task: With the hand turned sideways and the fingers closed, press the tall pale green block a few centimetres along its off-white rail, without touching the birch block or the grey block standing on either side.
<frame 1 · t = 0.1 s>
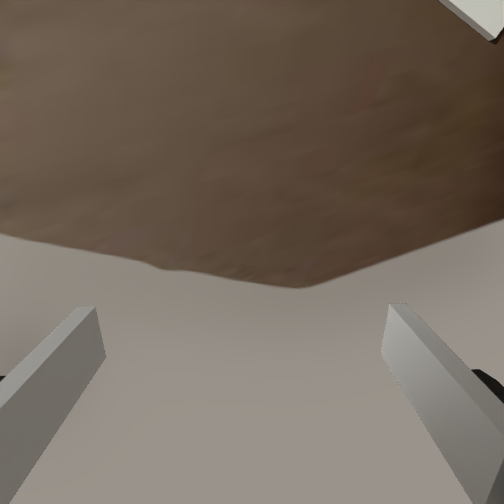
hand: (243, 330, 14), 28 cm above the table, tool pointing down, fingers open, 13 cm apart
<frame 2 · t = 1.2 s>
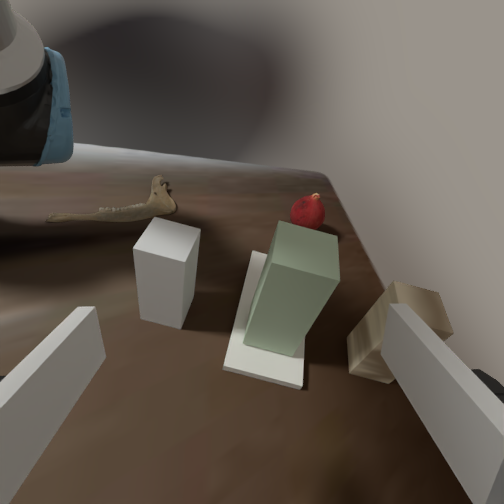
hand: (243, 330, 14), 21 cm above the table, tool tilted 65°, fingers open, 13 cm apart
rail plate: (268, 333, 38), on the table
pale green block: (286, 294, 32), point 8 cm above the table, slide at 0.0 cm
grey block: (168, 307, 38), on the table
birch block: (366, 359, 38), on the table
red pomegranate: (300, 231, 55), on the table
jawbone: (116, 204, 51), on the table
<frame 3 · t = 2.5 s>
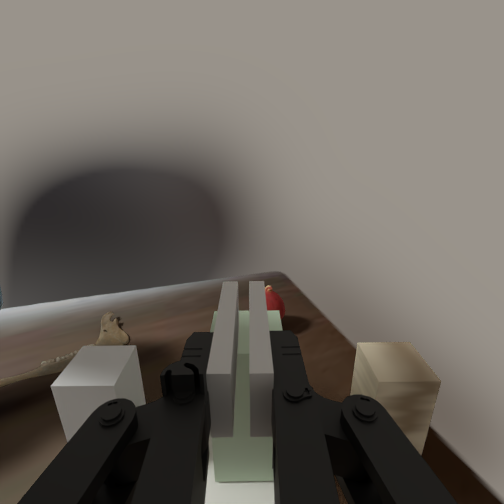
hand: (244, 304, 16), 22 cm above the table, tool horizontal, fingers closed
rail plate: (248, 458, 30), on the table
pale green block: (247, 394, 28), point 8 cm above the table, slide at 0.0 cm
grey block: (119, 460, 30), on the table
birch block: (377, 456, 31), on the table
red pomegranate: (266, 328, 52), on the table
jawbone: (62, 353, 47), on the table
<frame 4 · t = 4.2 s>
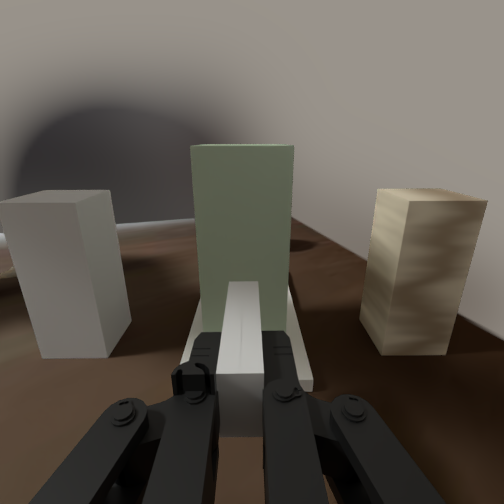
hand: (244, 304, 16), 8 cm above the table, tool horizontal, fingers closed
rail plate: (245, 336, 26), on the table
pale green block: (244, 243, 23), point 8 cm above the table, slide at 0.0 cm
grey block: (91, 338, 25), on the table
birch block: (398, 335, 26), on the table
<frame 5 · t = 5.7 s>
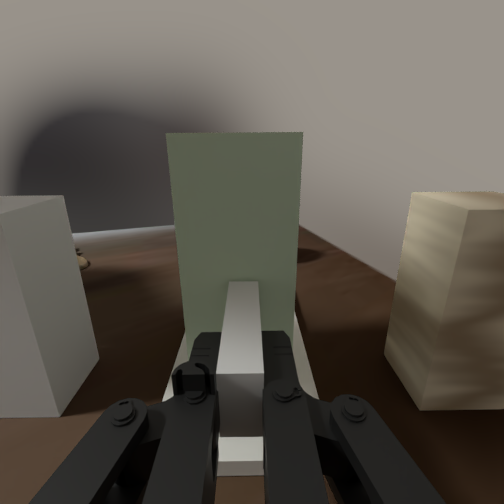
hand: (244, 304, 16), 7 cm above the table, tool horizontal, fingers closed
rail plate: (241, 381, 20), on the table
pale green block: (239, 257, 18), point 8 cm above the table, slide at 1.4 cm, touching gripper
grey block: (43, 385, 20), on the table
birch block: (436, 378, 20), on the table
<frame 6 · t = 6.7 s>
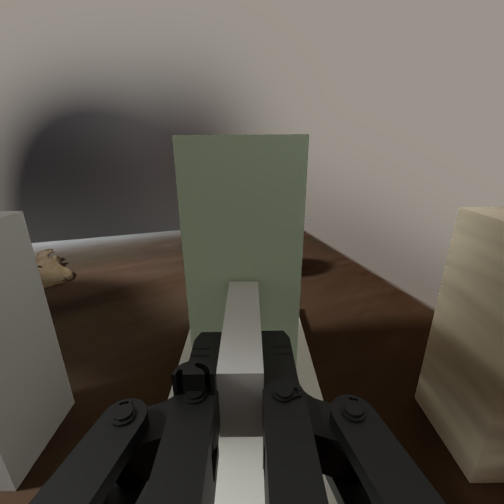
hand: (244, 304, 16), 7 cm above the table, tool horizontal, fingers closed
rail plate: (245, 436, 16), on the table
pale green block: (244, 258, 18), point 8 cm above the table, slide at 5.3 cm, touching gripper
grey block: (3, 441, 16), on the table
birch block: (483, 433, 16), on the table
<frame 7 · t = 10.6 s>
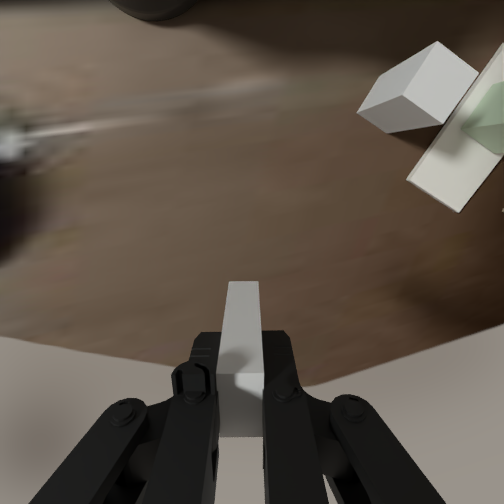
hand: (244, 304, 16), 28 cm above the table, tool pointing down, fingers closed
rail plate: (458, 157, 41), on the table
grey block: (383, 105, 39), on the table
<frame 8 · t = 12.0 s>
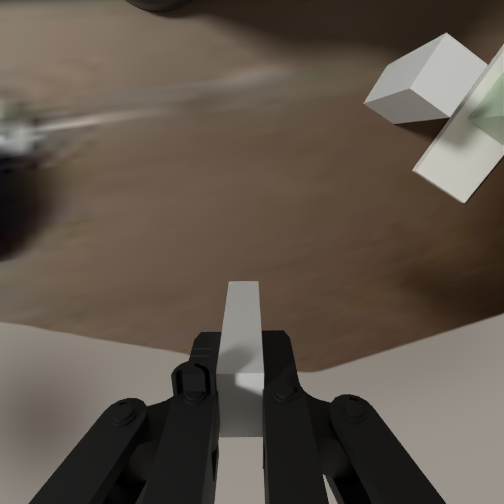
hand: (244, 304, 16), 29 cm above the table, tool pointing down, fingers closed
rail plate: (465, 148, 41), on the table
grey block: (390, 95, 39), on the table
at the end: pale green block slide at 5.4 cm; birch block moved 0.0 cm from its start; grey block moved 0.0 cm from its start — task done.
